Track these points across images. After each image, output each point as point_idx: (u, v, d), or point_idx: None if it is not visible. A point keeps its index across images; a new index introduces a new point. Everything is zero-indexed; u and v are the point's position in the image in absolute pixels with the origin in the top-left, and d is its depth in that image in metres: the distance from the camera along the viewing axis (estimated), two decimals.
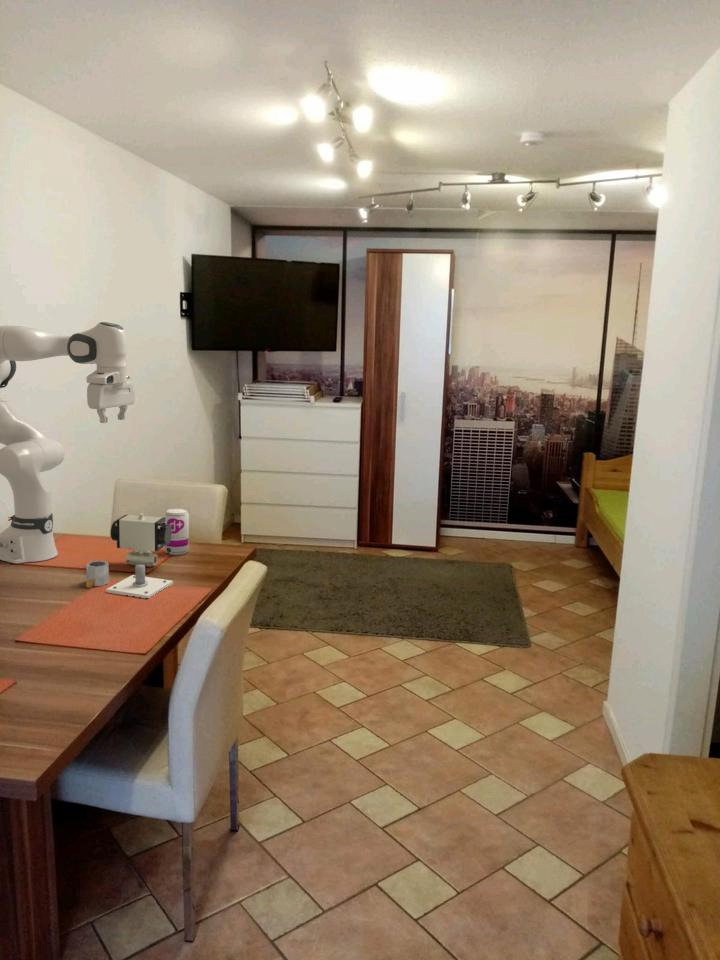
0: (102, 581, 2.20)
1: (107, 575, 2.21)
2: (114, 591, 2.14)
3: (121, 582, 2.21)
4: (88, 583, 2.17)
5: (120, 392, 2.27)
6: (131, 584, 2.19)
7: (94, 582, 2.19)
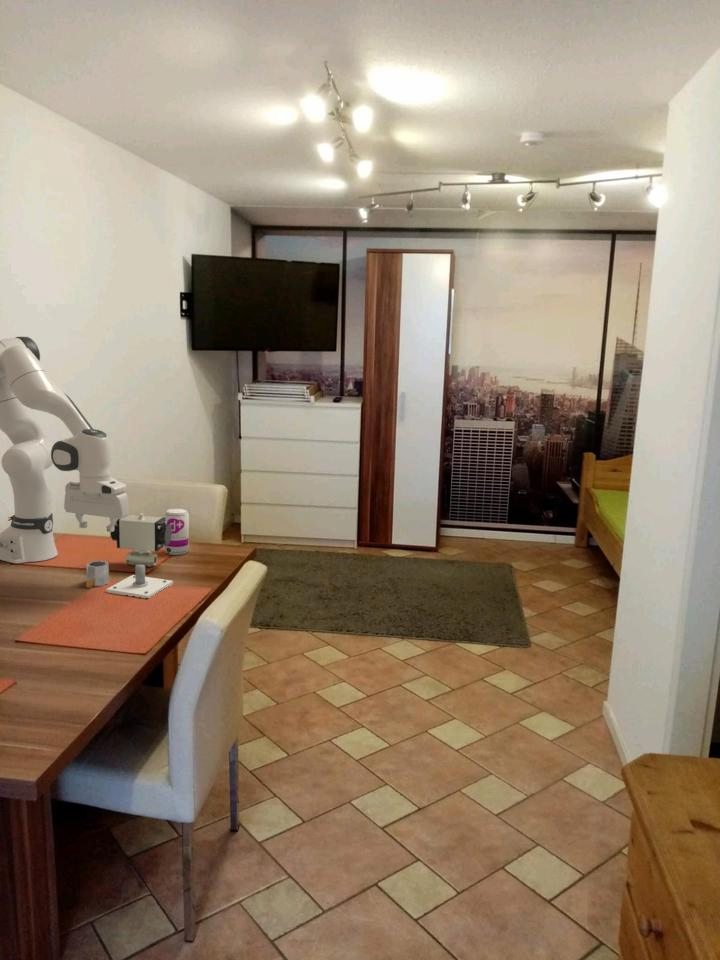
0: (102, 581, 2.20)
1: (107, 575, 2.21)
2: (114, 591, 2.14)
3: (121, 582, 2.21)
4: (88, 583, 2.17)
5: None
6: (131, 584, 2.19)
7: (94, 582, 2.19)
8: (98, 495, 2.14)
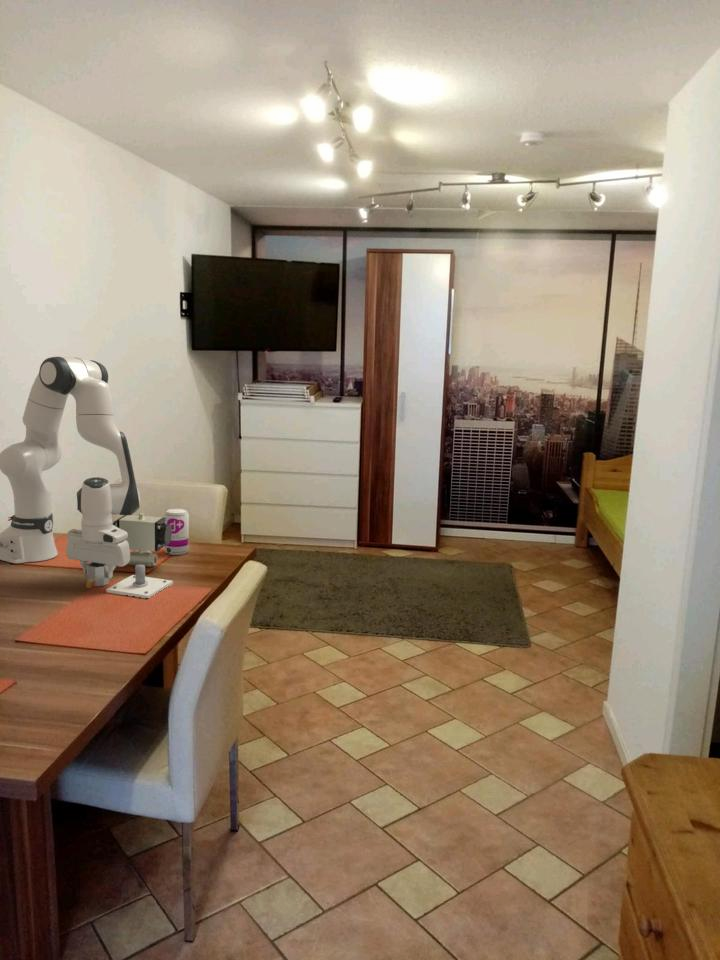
0: (102, 581, 2.20)
1: None
2: (114, 591, 2.14)
3: (121, 582, 2.21)
4: (88, 583, 2.17)
5: None
6: (131, 584, 2.19)
7: (94, 582, 2.19)
8: (100, 543, 2.17)
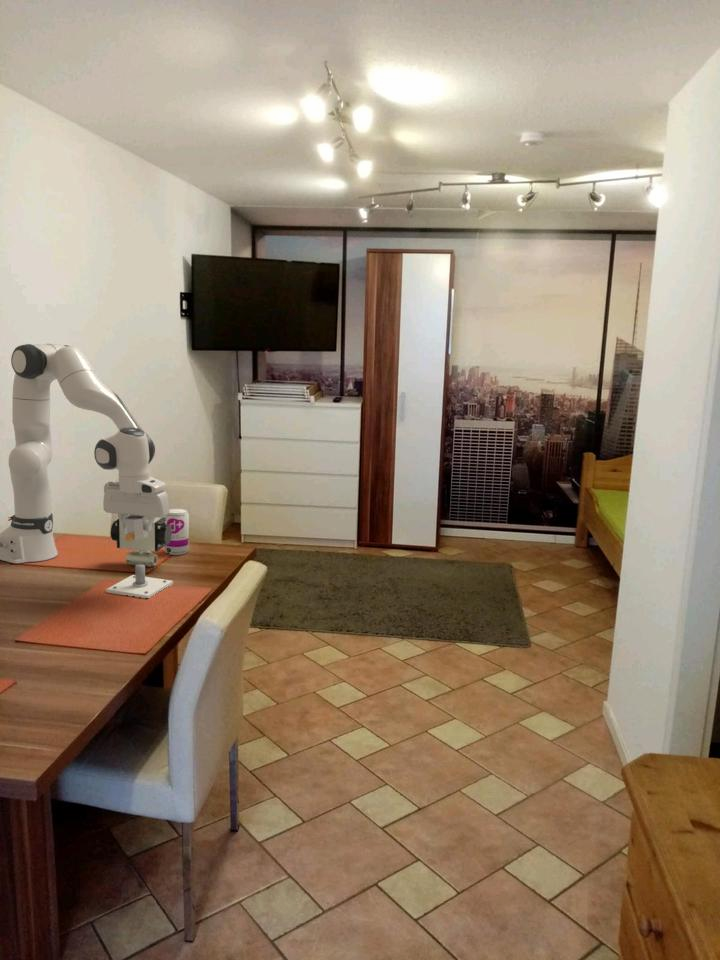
0: (141, 534, 2.14)
1: None
2: (114, 591, 2.14)
3: (121, 582, 2.21)
4: (127, 536, 2.11)
5: None
6: (131, 584, 2.19)
7: (133, 535, 2.13)
8: (138, 494, 2.11)
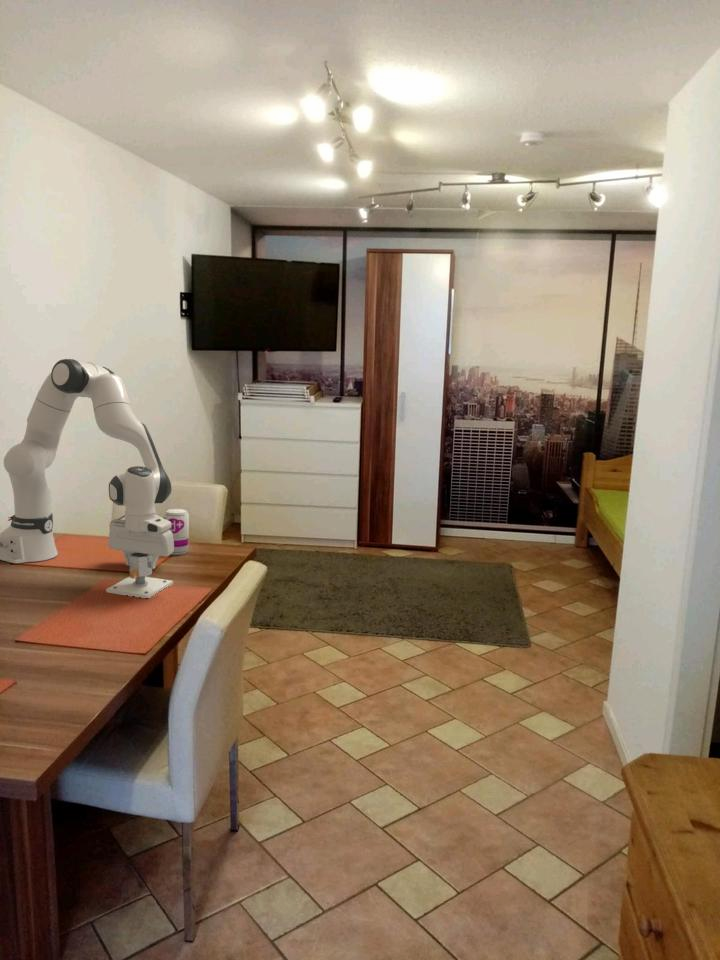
0: (146, 571, 2.16)
1: None
2: (114, 591, 2.14)
3: (121, 582, 2.21)
4: (132, 573, 2.14)
5: None
6: (131, 584, 2.19)
7: (138, 572, 2.15)
8: (143, 533, 2.14)
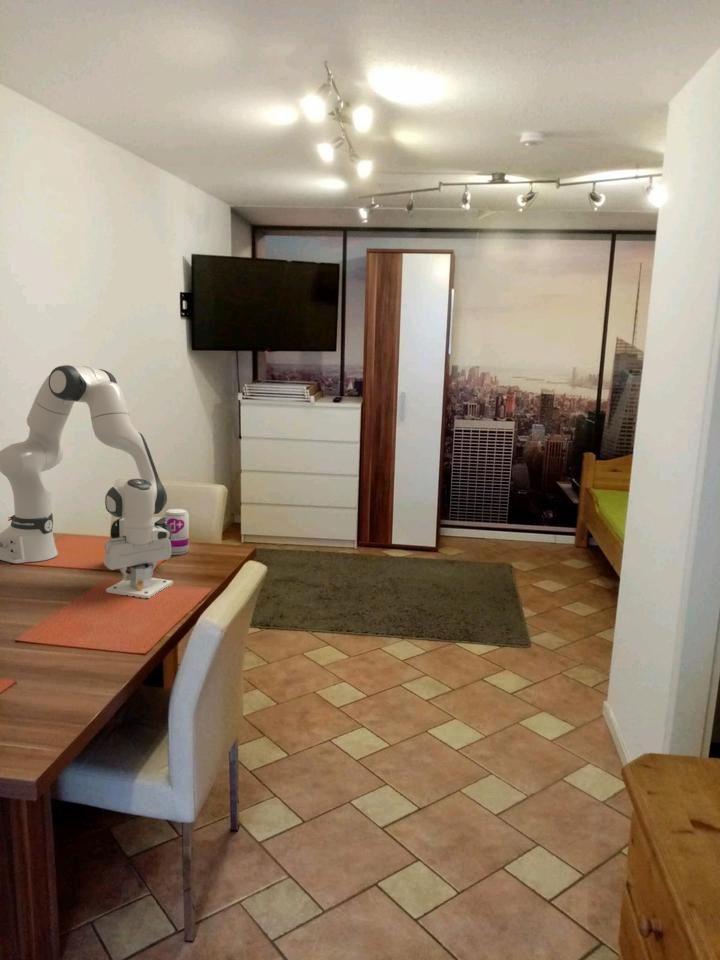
0: (149, 582, 2.18)
1: None
2: (114, 591, 2.14)
3: (121, 582, 2.21)
4: (140, 586, 2.15)
5: None
6: None
7: (143, 584, 2.16)
8: (149, 543, 2.18)
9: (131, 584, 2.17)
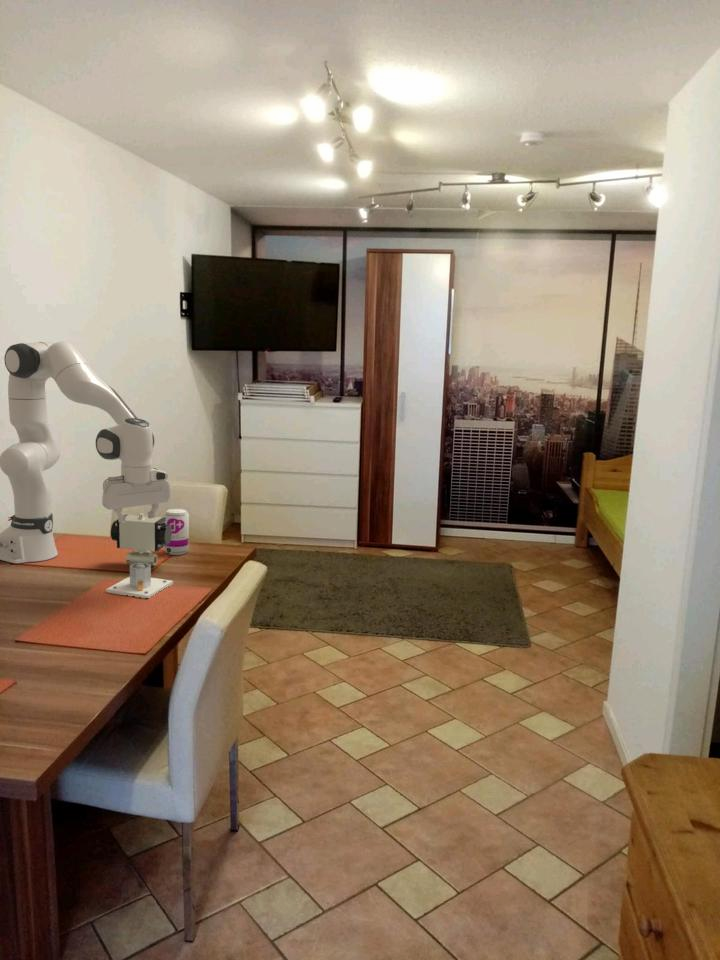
0: (149, 582, 2.18)
1: None
2: (114, 591, 2.14)
3: (121, 582, 2.21)
4: (140, 586, 2.15)
5: None
6: None
7: (143, 584, 2.17)
8: (147, 483, 2.14)
9: (131, 585, 2.17)
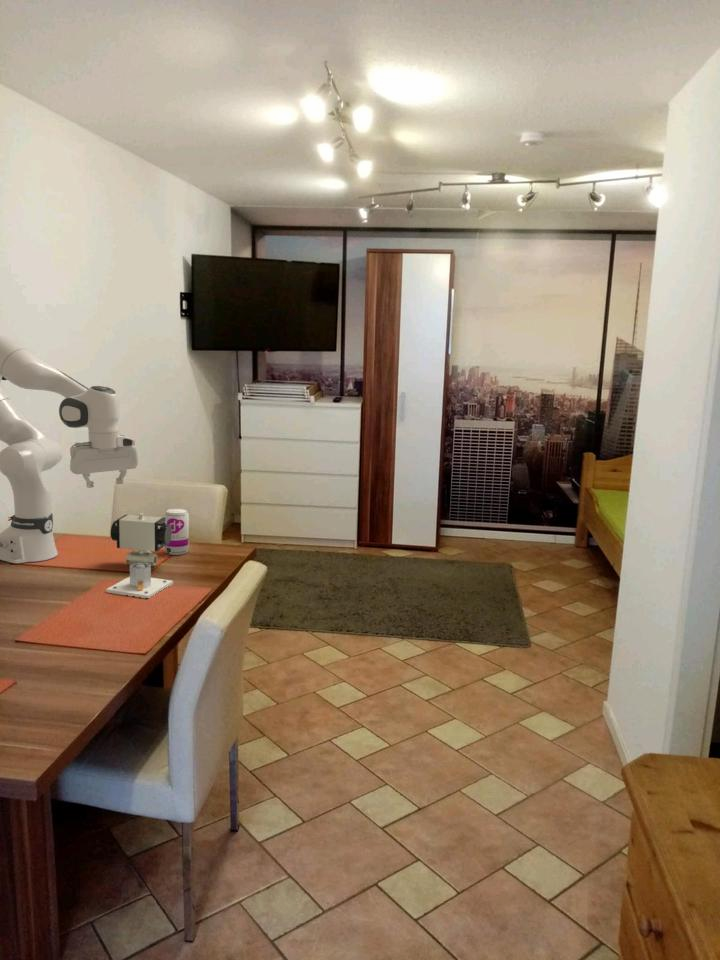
0: (149, 582, 2.18)
1: None
2: (114, 591, 2.14)
3: (121, 582, 2.21)
4: (140, 586, 2.15)
5: None
6: None
7: (143, 584, 2.17)
8: (114, 450, 2.20)
9: (131, 585, 2.17)
